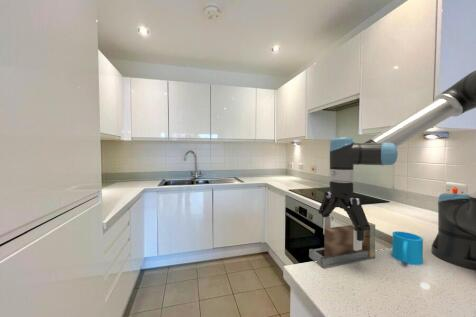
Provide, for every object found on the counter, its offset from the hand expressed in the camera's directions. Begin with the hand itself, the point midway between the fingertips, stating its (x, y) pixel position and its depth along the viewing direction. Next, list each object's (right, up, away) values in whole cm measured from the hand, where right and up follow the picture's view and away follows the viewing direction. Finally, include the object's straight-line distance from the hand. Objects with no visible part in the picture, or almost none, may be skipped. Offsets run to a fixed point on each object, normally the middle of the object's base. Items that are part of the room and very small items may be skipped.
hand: (340, 241), depth 70 cm
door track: (+1, -6, 0) cm, 6 cm away
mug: (+22, -6, -1) cm, 23 cm away
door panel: (0, -5, 0) cm, 5 cm away
